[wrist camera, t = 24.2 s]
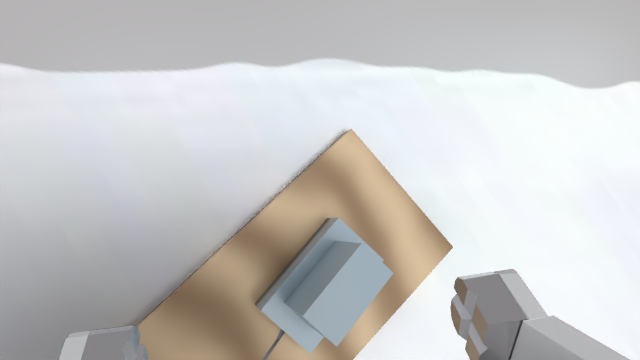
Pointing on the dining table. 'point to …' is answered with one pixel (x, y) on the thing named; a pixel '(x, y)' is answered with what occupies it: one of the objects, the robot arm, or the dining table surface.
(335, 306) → the block
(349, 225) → the oak board
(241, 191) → the dining table surface
